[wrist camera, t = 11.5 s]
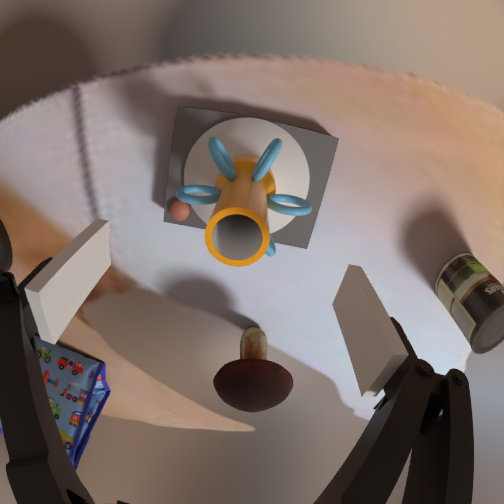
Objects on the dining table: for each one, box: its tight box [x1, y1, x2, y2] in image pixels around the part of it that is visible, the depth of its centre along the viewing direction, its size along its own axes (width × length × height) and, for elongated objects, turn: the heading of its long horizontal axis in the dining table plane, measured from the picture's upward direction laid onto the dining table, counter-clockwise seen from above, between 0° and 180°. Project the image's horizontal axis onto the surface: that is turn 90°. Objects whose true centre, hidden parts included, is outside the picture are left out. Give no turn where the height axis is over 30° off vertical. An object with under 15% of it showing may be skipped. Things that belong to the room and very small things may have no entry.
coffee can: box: [435, 253, 504, 354], centre depth 34 cm, size 10×10×14 cm
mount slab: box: [164, 107, 339, 249], centre depth 32 cm, size 18×14×4 cm
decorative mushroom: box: [213, 327, 293, 412], centre depth 39 cm, size 11×11×15 cm
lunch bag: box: [0, 334, 110, 471], centre depth 42 cm, size 22×14×29 cm, turn 75°
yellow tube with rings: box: [176, 137, 312, 266], centre depth 24 cm, size 12×10×15 cm
